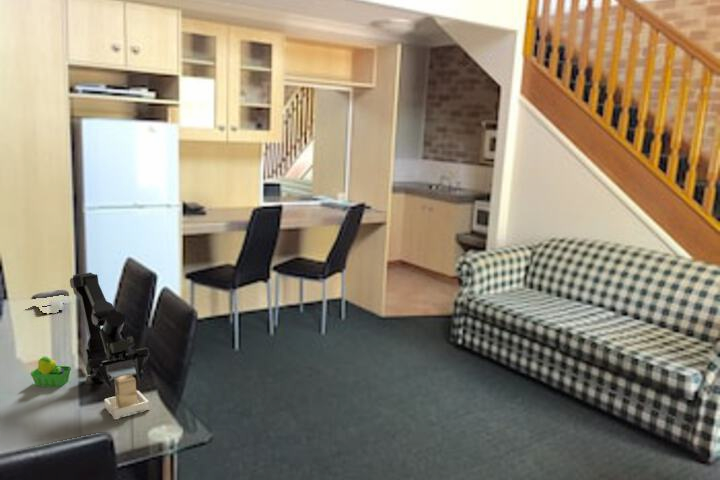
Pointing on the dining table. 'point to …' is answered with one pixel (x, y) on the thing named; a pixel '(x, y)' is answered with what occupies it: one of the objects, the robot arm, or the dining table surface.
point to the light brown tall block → (125, 391)
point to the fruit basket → (50, 373)
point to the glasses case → (51, 294)
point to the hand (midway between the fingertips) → (125, 384)
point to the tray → (115, 412)
